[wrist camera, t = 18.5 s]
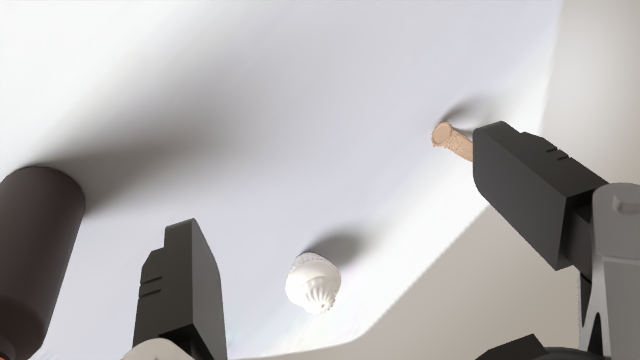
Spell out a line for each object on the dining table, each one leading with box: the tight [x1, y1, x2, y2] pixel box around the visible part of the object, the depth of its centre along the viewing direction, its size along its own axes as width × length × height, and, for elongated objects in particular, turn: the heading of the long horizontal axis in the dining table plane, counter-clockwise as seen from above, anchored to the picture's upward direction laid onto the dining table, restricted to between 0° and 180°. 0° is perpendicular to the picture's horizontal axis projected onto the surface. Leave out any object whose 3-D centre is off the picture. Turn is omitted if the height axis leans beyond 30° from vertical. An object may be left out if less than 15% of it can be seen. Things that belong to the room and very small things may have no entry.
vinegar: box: [0, 167, 85, 360], centre depth 31 cm, size 7×7×20 cm
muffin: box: [286, 252, 341, 314], centre depth 49 cm, size 6×6×7 cm
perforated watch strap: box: [431, 122, 473, 162], centre depth 45 cm, size 3×5×5 cm, turn 59°
